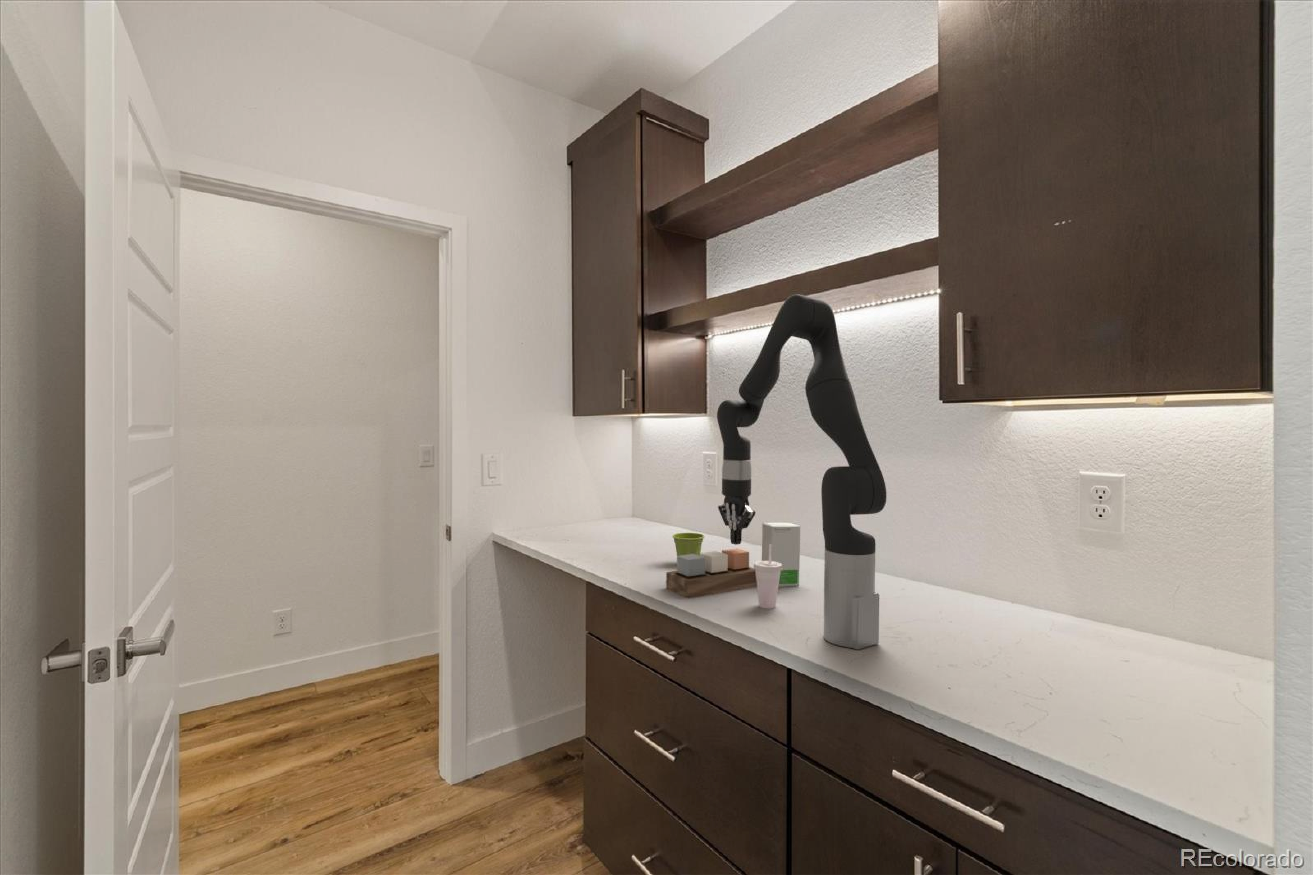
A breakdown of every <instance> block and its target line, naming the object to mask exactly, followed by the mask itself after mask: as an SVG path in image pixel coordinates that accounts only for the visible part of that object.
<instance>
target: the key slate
mask: <svg viewBox="0 0 1313 875" xmlns="http://www.w3.org/2000/svg"><path fill="white" fill-rule="evenodd" d="M676 571H677V572H678V573H681V574H683V575H686V576H695V575H701V574H705V557H701V556H698V555H695V554H689V555H681V556H677V555H676Z"/></svg>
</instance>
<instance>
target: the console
mask: <svg viewBox="0 0 1313 875" xmlns="http://www.w3.org/2000/svg"><path fill="white" fill-rule="evenodd" d="M665 578H666V579H665V580H666V581H665V584H666V585H665V587H666V589H668V590H670V591H672V592H674V593H675V594H678V595H681V596H684V597H685V598H688V599H692V598H697V597H703V596H709V595H714V594H721V593H726V592H732V591H737V590H744V589H749V588H755V587H757V581H756V572H755V568H754V567H751V566H749V567H747V568H741V569H731V568H728V571H721V572H714V573H710V572H708V571H705V574H701V575H695V576H686V575H683V574H681V573H678V572H677V570H673V571H672V570H671V571H666V574H665Z"/></svg>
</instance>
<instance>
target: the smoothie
mask: <svg viewBox="0 0 1313 875" xmlns="http://www.w3.org/2000/svg"><path fill="white" fill-rule="evenodd" d="M771 551H772V545H769V561H762V560H758V561H755V562H753V568H755V572H756V581H757V586H756V589H757V590H756V591H757V596H758V597H757V598H758V606H759V607H760V608H763V609H766V610H767V609H768V610H769V609H775V608H776V606H777V600H778V592H779V587H778V586H779V579H780V571H781V570H782V564H781V563H779V562H775V561H771Z"/></svg>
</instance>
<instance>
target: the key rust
mask: <svg viewBox="0 0 1313 875" xmlns="http://www.w3.org/2000/svg"><path fill="white" fill-rule="evenodd" d="M721 553H724V554H727V555H728V568H731V569H741V568H747V567H750V551H748V550H745V549H744V550H743V549H740V548H728V549H722V550H721Z"/></svg>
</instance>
